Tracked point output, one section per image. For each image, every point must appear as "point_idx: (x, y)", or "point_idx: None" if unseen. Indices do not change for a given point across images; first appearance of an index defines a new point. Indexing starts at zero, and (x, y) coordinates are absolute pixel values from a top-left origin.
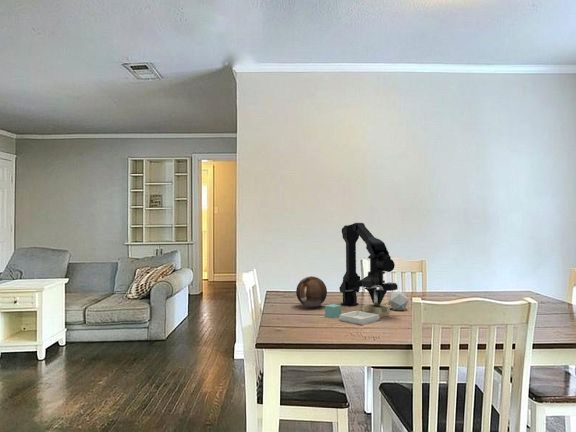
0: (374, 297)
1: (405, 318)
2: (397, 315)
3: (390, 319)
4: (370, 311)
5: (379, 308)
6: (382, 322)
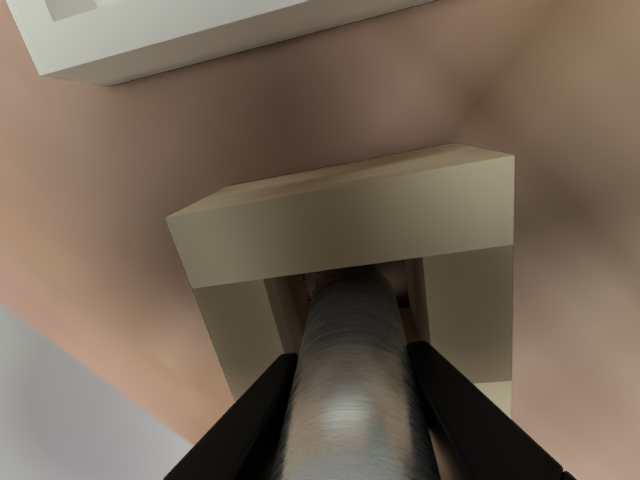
0: (354, 446)
1: (106, 364)
2: (230, 396)
3: (116, 237)
4: (346, 171)
5: (179, 242)
6: (9, 49)
